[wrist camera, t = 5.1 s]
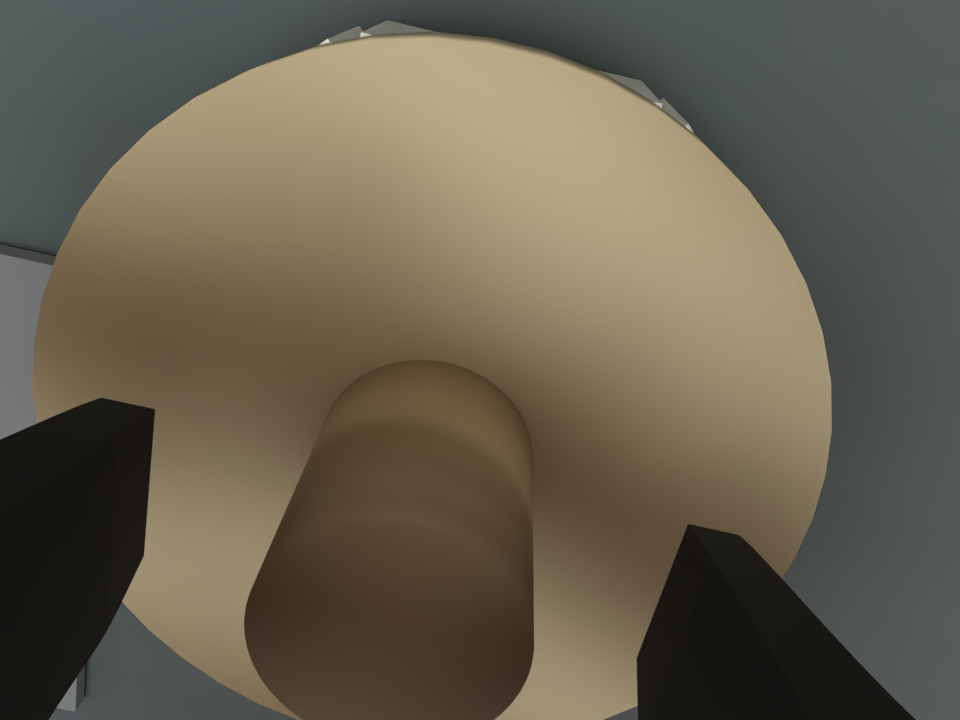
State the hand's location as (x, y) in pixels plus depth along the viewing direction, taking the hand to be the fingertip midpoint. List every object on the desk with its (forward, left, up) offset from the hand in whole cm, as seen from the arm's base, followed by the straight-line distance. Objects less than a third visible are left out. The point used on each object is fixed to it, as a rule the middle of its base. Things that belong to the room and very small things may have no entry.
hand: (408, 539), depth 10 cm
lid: (0, 0, -3) cm, 3 cm away
